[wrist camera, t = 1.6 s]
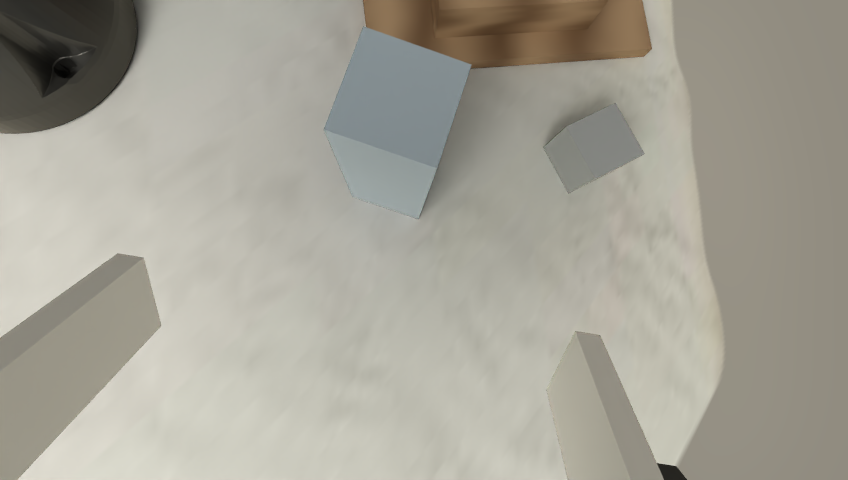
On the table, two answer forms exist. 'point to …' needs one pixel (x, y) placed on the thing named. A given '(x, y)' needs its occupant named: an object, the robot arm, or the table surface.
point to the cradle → (516, 29)
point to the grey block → (592, 147)
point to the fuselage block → (394, 119)
